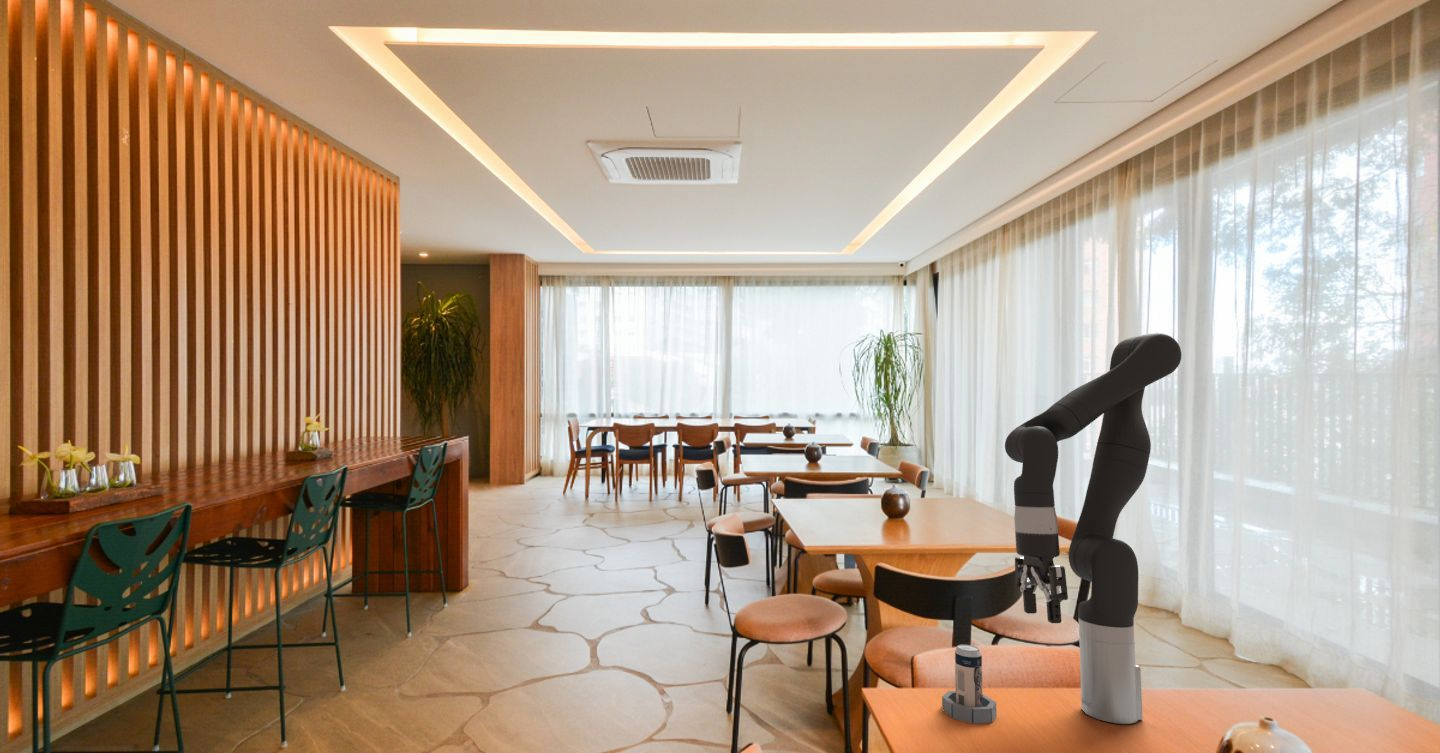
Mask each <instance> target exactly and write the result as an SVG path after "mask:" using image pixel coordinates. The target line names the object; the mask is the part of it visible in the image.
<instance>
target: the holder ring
mask: <svg viewBox="0 0 1440 753" xmlns="http://www.w3.org/2000/svg"><path fill="white" fill-rule="evenodd" d="M941 700H942V701H941V702H942V703H941V704H942V705H941V707H942V709H943V710H944V711H945V712H946V713H947V714H948V715H949V718H951V719H953V720H958V721H961V722H964V723H969V724H974V725H977V724H978V725H979V724H992V723H993V722H994V721H995V720H996V718H997V717H996V716H998V715H997V714H998V713H997V712H998V711H997V702H996V701H995V700H993V699H992V698H990V697H989V696H988V695H985V694H983V693H982V700H983V707H969V706H965V705H961V704H957V703H956V690H948V691H946V692H945V693H944V694H943V695H942V697H941ZM942 709H941V710H942ZM943 710H942V711H943ZM944 711H943V712H944ZM945 712H944V713H945ZM946 713H945V714H946ZM947 714H946V715H947ZM948 715H947V716H948ZM995 717H996V718H995ZM994 719H995V720H994Z"/></svg>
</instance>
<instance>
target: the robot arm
mask: <svg viewBox="0 0 1440 753" xmlns="http://www.w3.org/2000/svg"><path fill="white" fill-rule="evenodd" d="M1182 356H1183V355H1182V349H1181V347H1180V345H1179V343H1178V341H1177V340H1176V339H1175V338H1174V337H1172V336H1171V335H1168V334H1166V333H1159V332H1154V333H1153V332H1152V333H1145V334H1141V335H1137V336H1134V337H1133V336H1132V337H1129V338H1126V339H1123V340H1122V341H1120V342H1119V343H1117V345H1116V346H1115V347H1114V349H1113V351H1112V355H1111V357H1110V365H1109V370H1108V371H1107V372H1105V373H1103V374H1101V375H1100V376H1098V377H1096V378H1094V379H1092V380H1090V381H1088V382H1085V383H1084V384H1082V385H1080V386H1078V387H1076V388H1075V389H1073V390H1072V391H1070V392H1068V393H1067V394H1065V396H1063V397H1062V398H1060V399H1058V400H1057V401H1056V402H1055V403H1053V404H1052V405H1051V406H1050V407H1048V408H1047V409H1046V410H1045V411H1043V412H1041V413H1040V414H1038V415H1036V416H1033V417H1032V418H1030V419H1028V420H1027V421H1025V422H1024V423H1022V424H1020V425H1019V426H1017V427H1016V428H1014V429H1013V430H1012V431H1011V432H1010V433H1009V434H1008V435H1007V436H1006V439H1005V442H1004V449H1005V453H1006V454H1007V456H1008V457H1009V459H1011V460H1012V461H1014V462H1016V463H1021V464H1022V466H1021V468H1022V469H1021V474H1020V475H1019V476H1017V477H1016V478H1015V479H1014V482H1013V495H1014V497H1013V499H1014V516H1013V517H1014V518H1013V519H1014V520H1013V521H1014V533H1015V536H1014V537H1015V550H1016V551H1015V552H1016V554H1017V555H1019V556H1017V557H1014V573H1015V574H1014V575H1015V576H1014V577H1015V578H1014V580H1015V587H1016V588H1019V589H1020V592H1021V593H1022V598H1023V600H1022V602H1023V611H1024V612H1023V613H1026V614H1032V615H1033V614H1036V613H1037V612H1038V609H1037V596H1036V595H1037V594H1036V590H1037V588H1039V590H1040V591H1041V592H1043V594H1044V596H1045V599H1046V612H1047V613H1046V614H1047V615H1046V616H1047V617H1046V618H1047V622H1049V623H1051V624H1061V623H1062V612H1061V611H1062V610H1061V609H1062V608H1061V602H1063V601H1067V600H1069V595H1068V584H1067V577H1066V567H1065V566H1064V565H1055V562H1054V558H1057V557H1059V556H1060V554H1061V553H1060V540H1059V525H1058V516H1057V513H1056V508H1055V506H1056V504H1055V491H1054V482H1055V477H1056V473H1057V467H1058V460H1059V444H1058V443H1059V442H1060V441H1063V440H1067V439H1070V438H1072V437H1074V436H1075V435H1077V434H1078V433H1079V432H1081V431H1082V430H1084V429H1085V428H1086V427H1088V426H1089V425H1090V424H1092V423H1093V422H1094V421H1095V420H1097V419H1098V418H1100V417H1101V416H1102V420H1101V427H1100V431H1099V434H1098V439H1097V443H1096V446H1095V452H1094V455H1093V461H1092V467H1091V473H1090V476H1089V481H1088V485H1087V488H1086V493H1085V498H1084V501H1083V505H1082V509H1081V512H1080V515H1079V518H1078V521H1077V524H1076V527H1075V530H1074V532H1073V535H1072V538H1071V541H1070V545H1069V549H1068V563H1069V566H1070V570H1072V572H1073V573H1074V574H1075V576H1077V577H1078V578H1080V579H1082V580H1085V581H1088V582H1090V583H1091V592H1090V597H1089V598H1088V600H1083V601H1081V602H1080V603H1079V604H1078V609H1077V610H1078V614H1077V615H1078V636H1079V637H1078V638H1079V639H1078V641H1079V666H1080V672H1079V673H1080V674H1079V675H1080V698H1081V702H1080V703H1081V710H1083V711H1084V712H1085V714H1086V715H1087V716H1089V717H1091V718H1094V719H1096V720H1100V721H1103V722H1108V723H1112V724H1120V725H1130V724H1134V723H1137V722H1138V721H1142V720H1143V718H1144V716H1143V696H1142V694H1143V693H1142V674H1141V672H1142V671H1141V667H1140V666H1139V665H1138V664H1136V647H1135V646H1136V642H1135V624H1134V623H1135V622H1134V620H1135V615H1136V613H1137V610H1138V606H1139V564H1138V558H1137V556H1136V553H1135V551H1134V550H1133V548H1132V547H1131V546H1130V545H1129V544H1128V543H1127V542H1125V541H1123V540H1120V539H1116V538H1114V535H1115V530H1116V526H1117V521H1118V519H1119V516H1120V514H1121V513H1122V510H1123V509H1124V508H1125V506H1126V505H1127V504H1128V503H1129V501H1130V500H1131V499H1132V497H1133V496H1134V495H1135V494H1136V492H1137V491H1138V489H1139V488H1140V487H1141V486H1142V484H1143V481H1144V479H1145V477H1146V474H1147V470H1148V466H1149V461H1150V455H1151V449H1152V444H1151V443H1152V442H1151V438H1150V433H1149V429H1148V427H1147V425H1146V422H1145V419H1144V414H1143V398H1144V394H1145V389H1146V387H1148V386H1149V385H1151V384H1153V383H1155V382H1157V381H1159V380H1161V379H1164V378H1165V377H1167V376H1169V375H1171V374H1173V372H1175V371H1176V370H1177V368H1178V367H1179V366H1180V364H1181V361H1182ZM1083 711H1082V712H1083ZM1084 712H1083V713H1084Z"/></svg>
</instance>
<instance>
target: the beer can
mask: <svg viewBox="0 0 1440 753" xmlns="http://www.w3.org/2000/svg"><path fill="white" fill-rule="evenodd" d="M982 656H983V654H982V652H981V651H980V648H979V647H978V646H975V645H971V644H959V645H957V646H956V648H955V650H954V659H955V663H954V665H955V666H954V667H955V669H954V670H955V691H956V703H957V704H961V705H965V706H969V707H983V700H982V694H983V660H982V659H983V657H982Z"/></svg>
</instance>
